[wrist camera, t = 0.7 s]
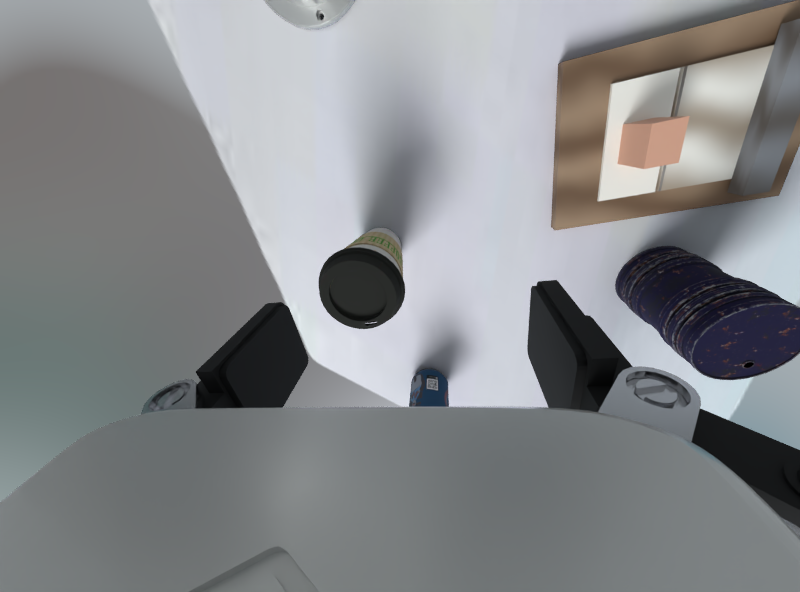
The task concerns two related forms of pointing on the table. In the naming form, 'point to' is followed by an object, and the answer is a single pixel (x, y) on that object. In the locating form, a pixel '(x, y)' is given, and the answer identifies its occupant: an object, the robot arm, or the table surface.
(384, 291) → the coffee cup
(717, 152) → the board
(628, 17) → the table surface
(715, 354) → the storage jar
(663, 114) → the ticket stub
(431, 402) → the soda can
